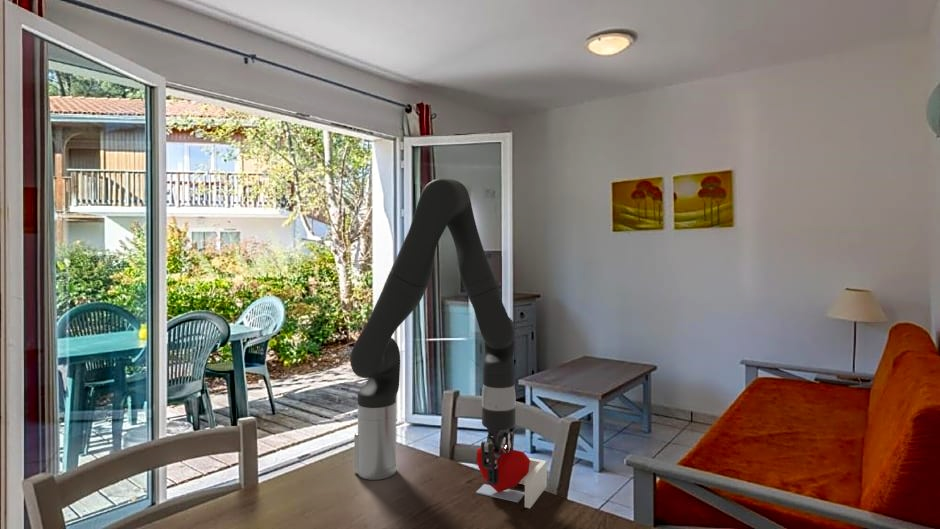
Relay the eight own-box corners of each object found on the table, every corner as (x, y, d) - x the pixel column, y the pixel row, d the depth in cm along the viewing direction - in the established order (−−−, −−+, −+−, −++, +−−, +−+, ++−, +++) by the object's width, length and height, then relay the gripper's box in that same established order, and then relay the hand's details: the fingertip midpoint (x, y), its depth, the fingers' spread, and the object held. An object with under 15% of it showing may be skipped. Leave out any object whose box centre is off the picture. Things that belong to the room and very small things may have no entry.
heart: (525, 493, 118) (531, 450, 118) (523, 502, 114) (530, 458, 113) (474, 481, 121) (480, 439, 120) (470, 489, 116) (476, 446, 116)
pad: (476, 493, 117) (476, 491, 117) (484, 485, 121) (484, 483, 121) (518, 502, 113) (518, 501, 113) (525, 494, 117) (525, 492, 117)
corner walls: (477, 496, 116) (477, 469, 115) (497, 476, 126) (497, 452, 126) (530, 508, 110) (530, 480, 110) (546, 486, 120) (546, 461, 120)
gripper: (501, 415, 109) (501, 496, 109) (525, 398, 121) (525, 470, 122) (469, 410, 112) (469, 488, 112) (495, 394, 125) (495, 464, 125)
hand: (498, 478), depth 117 cm, fingers open, 5 cm apart
